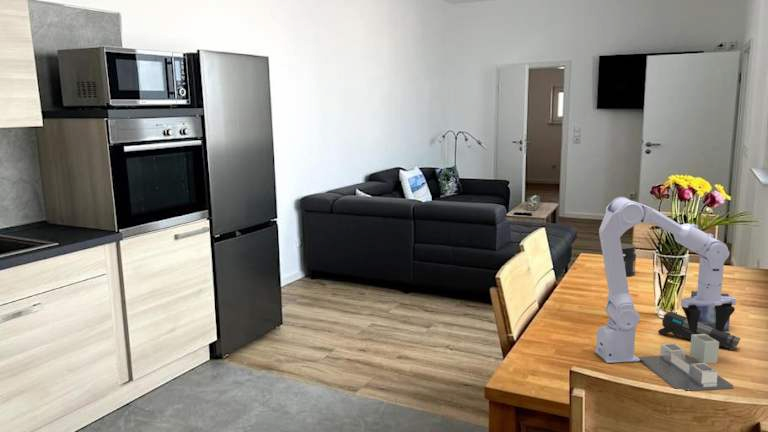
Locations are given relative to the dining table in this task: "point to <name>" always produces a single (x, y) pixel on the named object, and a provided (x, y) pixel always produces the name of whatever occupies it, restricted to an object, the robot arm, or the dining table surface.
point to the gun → (681, 328)
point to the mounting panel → (684, 370)
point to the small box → (709, 314)
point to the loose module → (704, 348)
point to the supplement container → (629, 258)
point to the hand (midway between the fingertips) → (705, 331)
